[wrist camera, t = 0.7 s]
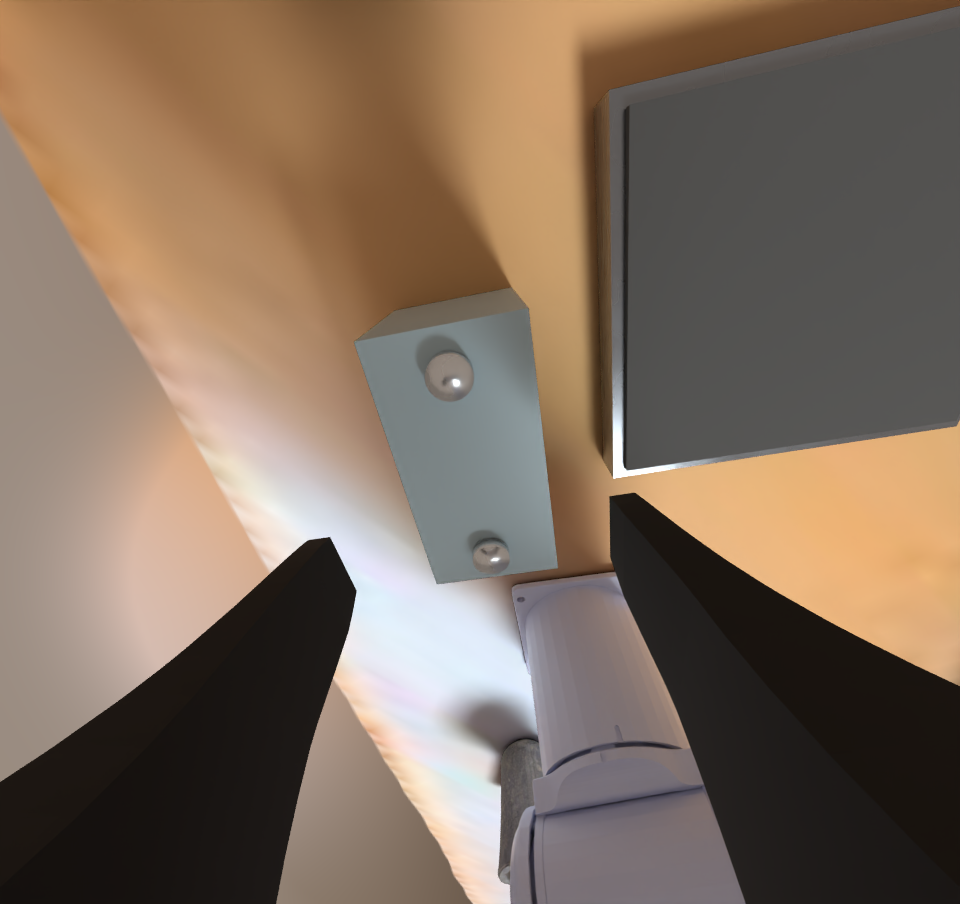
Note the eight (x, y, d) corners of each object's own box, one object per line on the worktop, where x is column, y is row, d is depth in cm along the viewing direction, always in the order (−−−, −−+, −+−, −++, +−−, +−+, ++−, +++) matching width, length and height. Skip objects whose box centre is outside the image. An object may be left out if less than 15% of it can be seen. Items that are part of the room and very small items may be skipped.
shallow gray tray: (916, 411, 18) (964, 429, 16) (603, 460, 19) (615, 481, 18) (1092, -10, 11) (1205, -57, 10) (593, 108, 13) (612, 86, 11)
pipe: (491, 789, 38) (494, 910, 31) (495, 725, 32) (499, 858, 25) (550, 789, 38) (566, 909, 32) (565, 725, 32) (589, 858, 25)
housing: (537, 484, 20) (560, 577, 14) (447, 498, 21) (435, 594, 15) (511, 287, 15) (530, 310, 10) (394, 310, 16) (348, 346, 10)
